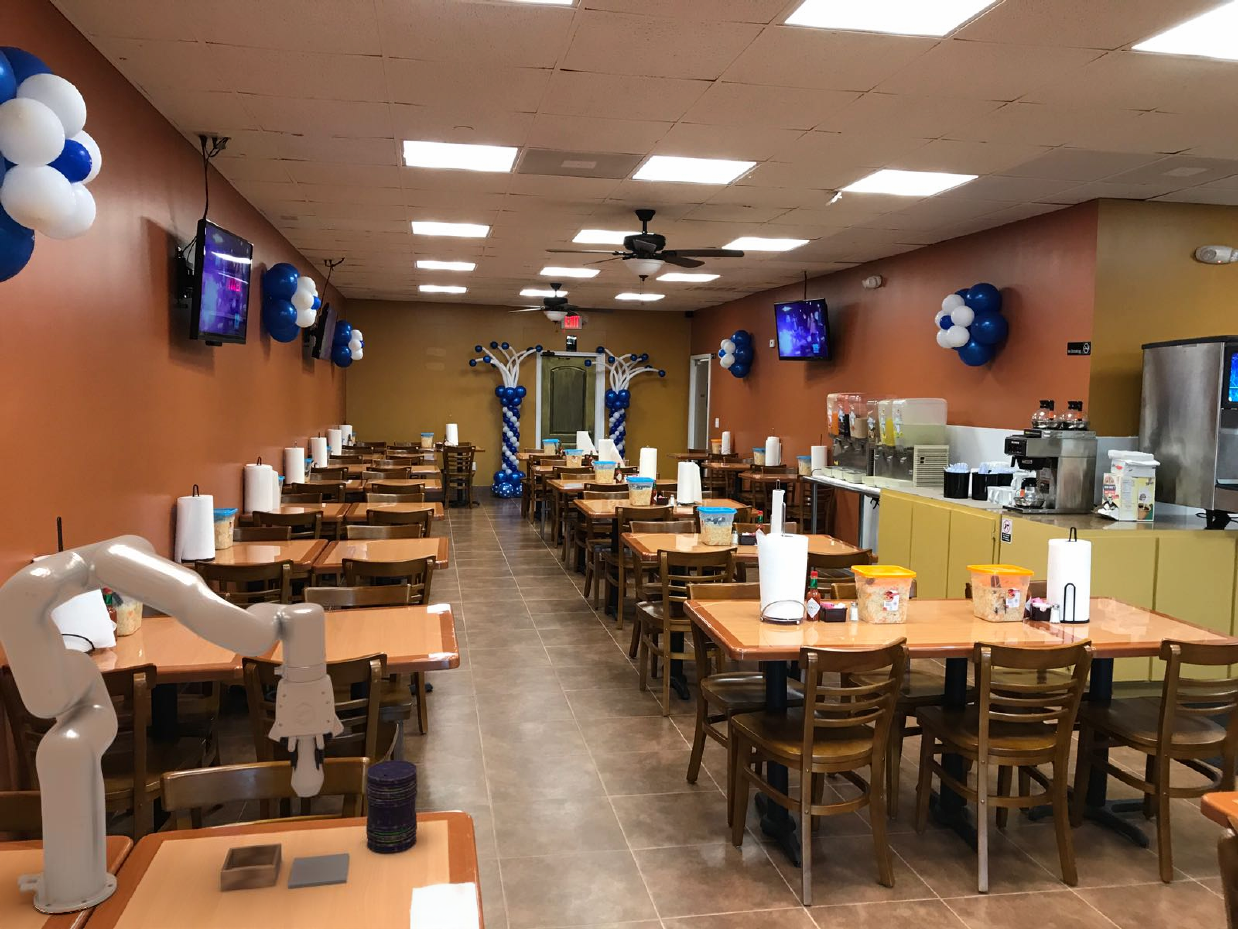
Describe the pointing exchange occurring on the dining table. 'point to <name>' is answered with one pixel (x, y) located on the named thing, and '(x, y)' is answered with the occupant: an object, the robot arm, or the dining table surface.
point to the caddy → (251, 875)
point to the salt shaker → (307, 768)
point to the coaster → (319, 870)
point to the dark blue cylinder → (391, 806)
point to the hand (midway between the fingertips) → (307, 768)
